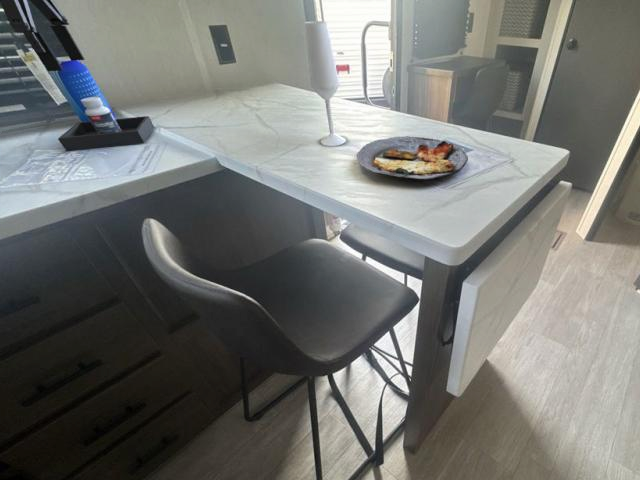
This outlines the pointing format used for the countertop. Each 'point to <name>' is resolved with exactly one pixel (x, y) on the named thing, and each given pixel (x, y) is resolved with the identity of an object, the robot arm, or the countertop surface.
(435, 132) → the countertop surface
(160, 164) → the countertop surface
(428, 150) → the food plate
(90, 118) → the pill bottle
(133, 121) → the tray
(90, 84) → the beer can
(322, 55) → the champagne flute
